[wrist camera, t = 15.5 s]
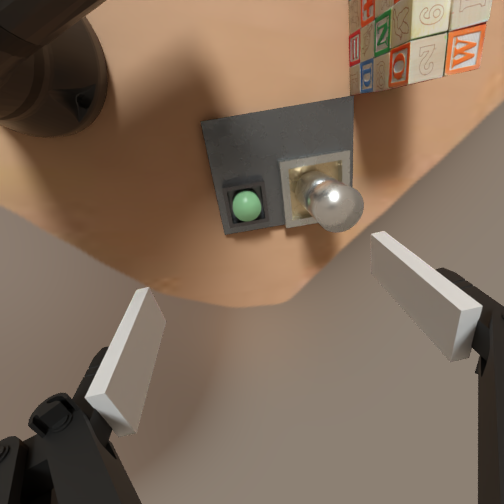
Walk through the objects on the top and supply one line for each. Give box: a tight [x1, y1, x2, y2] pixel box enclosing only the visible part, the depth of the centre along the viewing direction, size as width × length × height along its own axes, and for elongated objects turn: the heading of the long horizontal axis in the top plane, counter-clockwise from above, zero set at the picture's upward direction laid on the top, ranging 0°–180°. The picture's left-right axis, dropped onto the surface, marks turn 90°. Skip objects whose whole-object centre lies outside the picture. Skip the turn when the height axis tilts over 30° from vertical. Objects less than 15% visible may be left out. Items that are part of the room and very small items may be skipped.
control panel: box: [201, 96, 354, 235], centre depth 35 cm, size 15×19×4 cm
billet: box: [295, 171, 364, 232], centre depth 32 cm, size 5×5×10 cm
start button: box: [233, 188, 261, 221], centre depth 35 cm, size 4×4×3 cm
